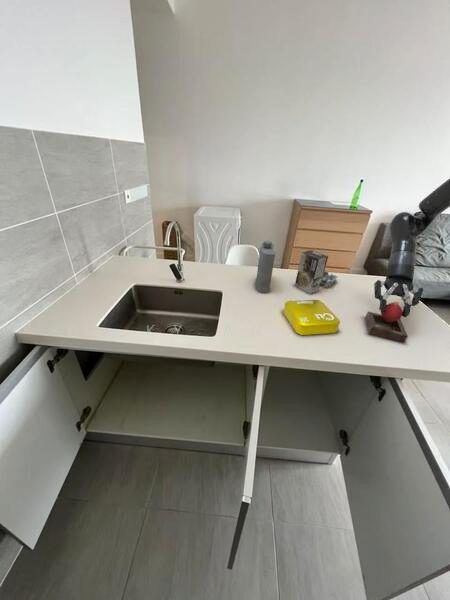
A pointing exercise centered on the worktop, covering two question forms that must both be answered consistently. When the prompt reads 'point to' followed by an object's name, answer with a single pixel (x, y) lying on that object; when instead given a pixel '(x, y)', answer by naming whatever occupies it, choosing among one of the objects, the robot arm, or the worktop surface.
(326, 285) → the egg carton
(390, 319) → the onion
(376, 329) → the tray
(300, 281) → the coffee box
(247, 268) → the worktop surface
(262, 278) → the flask
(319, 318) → the element tile
